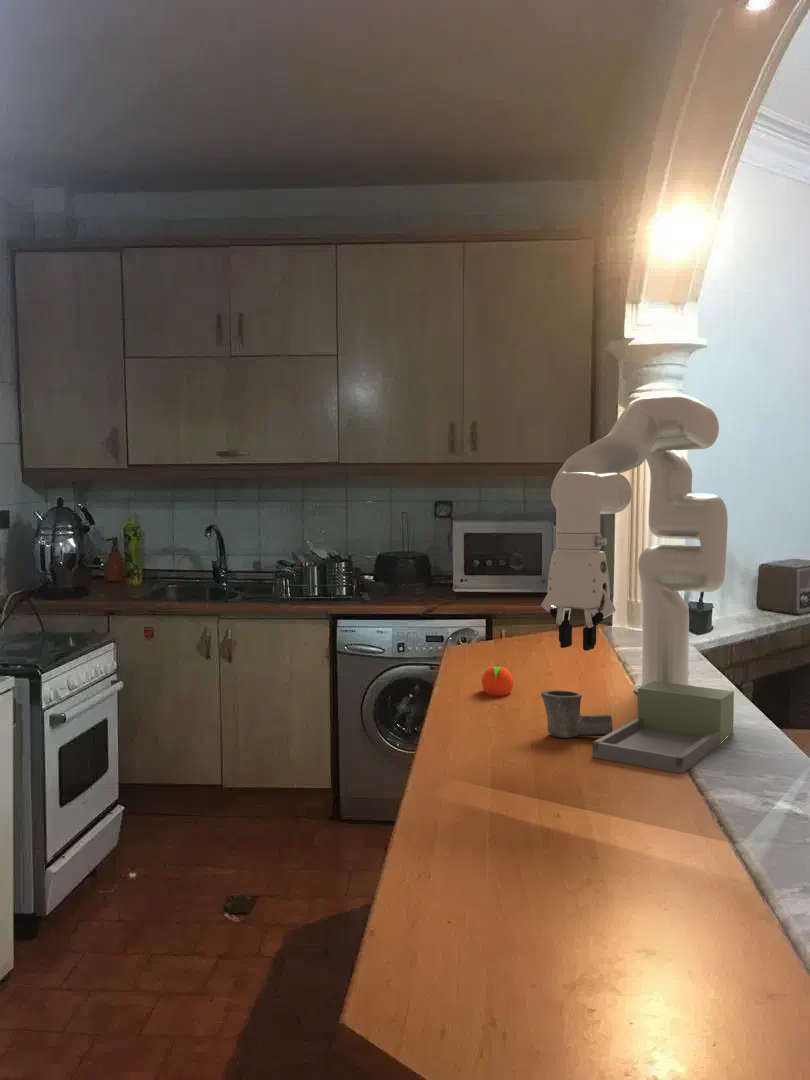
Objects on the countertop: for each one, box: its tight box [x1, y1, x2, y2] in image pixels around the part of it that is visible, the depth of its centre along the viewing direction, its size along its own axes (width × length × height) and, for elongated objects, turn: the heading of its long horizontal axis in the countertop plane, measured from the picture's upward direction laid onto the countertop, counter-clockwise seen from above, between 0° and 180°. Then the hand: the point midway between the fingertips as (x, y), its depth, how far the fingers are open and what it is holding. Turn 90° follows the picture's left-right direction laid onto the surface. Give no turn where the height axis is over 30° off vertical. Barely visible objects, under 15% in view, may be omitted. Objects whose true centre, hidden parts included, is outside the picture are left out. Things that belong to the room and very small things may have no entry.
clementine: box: [481, 665, 515, 697], centre depth 184 cm, size 8×7×7 cm
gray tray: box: [591, 681, 735, 775], centre depth 148 cm, size 28×15×8 cm, turn 143°
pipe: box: [540, 689, 613, 739], centre depth 154 cm, size 6×13×8 cm, turn 78°
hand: (577, 647), depth 149 cm, fingers open, 3 cm apart
